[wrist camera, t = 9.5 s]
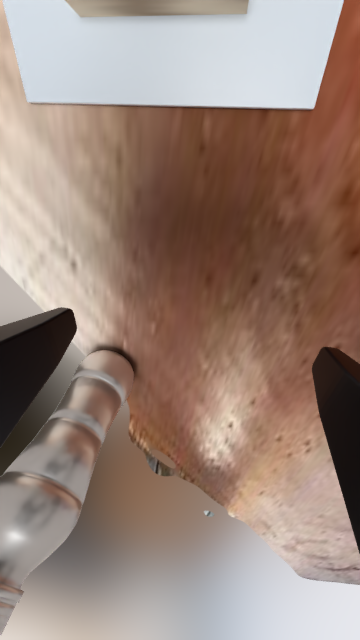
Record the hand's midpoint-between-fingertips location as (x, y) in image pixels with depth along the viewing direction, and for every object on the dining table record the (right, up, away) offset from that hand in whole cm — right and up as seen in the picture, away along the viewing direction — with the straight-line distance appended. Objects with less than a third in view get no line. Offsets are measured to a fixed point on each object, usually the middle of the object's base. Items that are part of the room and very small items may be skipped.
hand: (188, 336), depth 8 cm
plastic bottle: (-8, -5, +20) cm, 23 cm away
